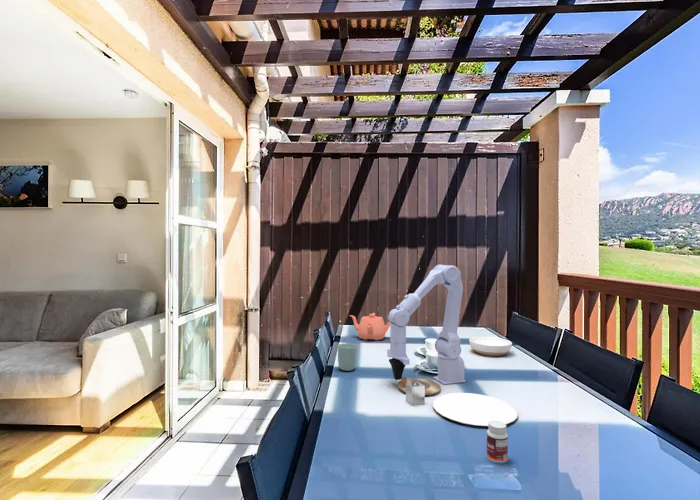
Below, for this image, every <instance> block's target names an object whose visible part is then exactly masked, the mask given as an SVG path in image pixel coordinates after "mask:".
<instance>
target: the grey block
mask: <svg viewBox="0 0 700 500" xmlns="http://www.w3.org/2000/svg"><path fill="white" fill-rule="evenodd" d="M425 396H426V395H425V386H424V385H423V384H421V383H420V382H418V381H416V382H408V383H406V392H405V402H406V403H408V404H409V405H411V406H419V405H425V402H426V401H425V400H426V399H425V398H426V397H425Z"/></svg>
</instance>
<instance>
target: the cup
mask: <svg viewBox="0 0 700 500" xmlns="http://www.w3.org/2000/svg"><path fill="white" fill-rule="evenodd" d="M357 349H358V348H357V344H355V343H348V342H346V343H345V342H344V343H340V344H338V345H337V362H338V367H339V368H340V370H342V371H346V372H350V371H353V370H354V369H355V368H356V364H357V356H358V355H357V354H358V351H357Z"/></svg>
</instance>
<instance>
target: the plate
mask: <svg viewBox="0 0 700 500" xmlns="http://www.w3.org/2000/svg"><path fill="white" fill-rule="evenodd" d="M432 407H433V410H435V412H436V413H438V414H439V415H440V416H442V417H443V418H446V419H448V420H450V421H452V422H456V423H458V424H463V425H468V426H472V427H485V428H488V423H489V421H492V420H496V421H501V422H503V423H505V424H506V426H507V425H510V424H511V423H512V424H513V422H515V421H516V420H517V419H518V412H517V410H516V408H514V407H513V406H512V404H509V403H508V402H505V401H504V400H503V399H499V398H496V397H493V396H489V395H485V394H481V393H480V394H479V393H471V392H454V393H453V392H452V393H447V394H443V395H440V396H438V397H437V398H435V399H434V400H433V402H432Z"/></svg>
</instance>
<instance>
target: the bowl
mask: <svg viewBox="0 0 700 500" xmlns="http://www.w3.org/2000/svg"><path fill="white" fill-rule="evenodd" d="M468 340H469V341H468V342H469V346H470V348H471V349H472V350H473V351H474V352H476V353H478V354H479V355H483V356H487V357H499V356H503V355H506V354H508V353H509V352H510V351H511V350H512V346H513V342H512V341H510V340H509V339H505V338H501V337H494V336H472V337H470V338H469V339H468Z"/></svg>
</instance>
